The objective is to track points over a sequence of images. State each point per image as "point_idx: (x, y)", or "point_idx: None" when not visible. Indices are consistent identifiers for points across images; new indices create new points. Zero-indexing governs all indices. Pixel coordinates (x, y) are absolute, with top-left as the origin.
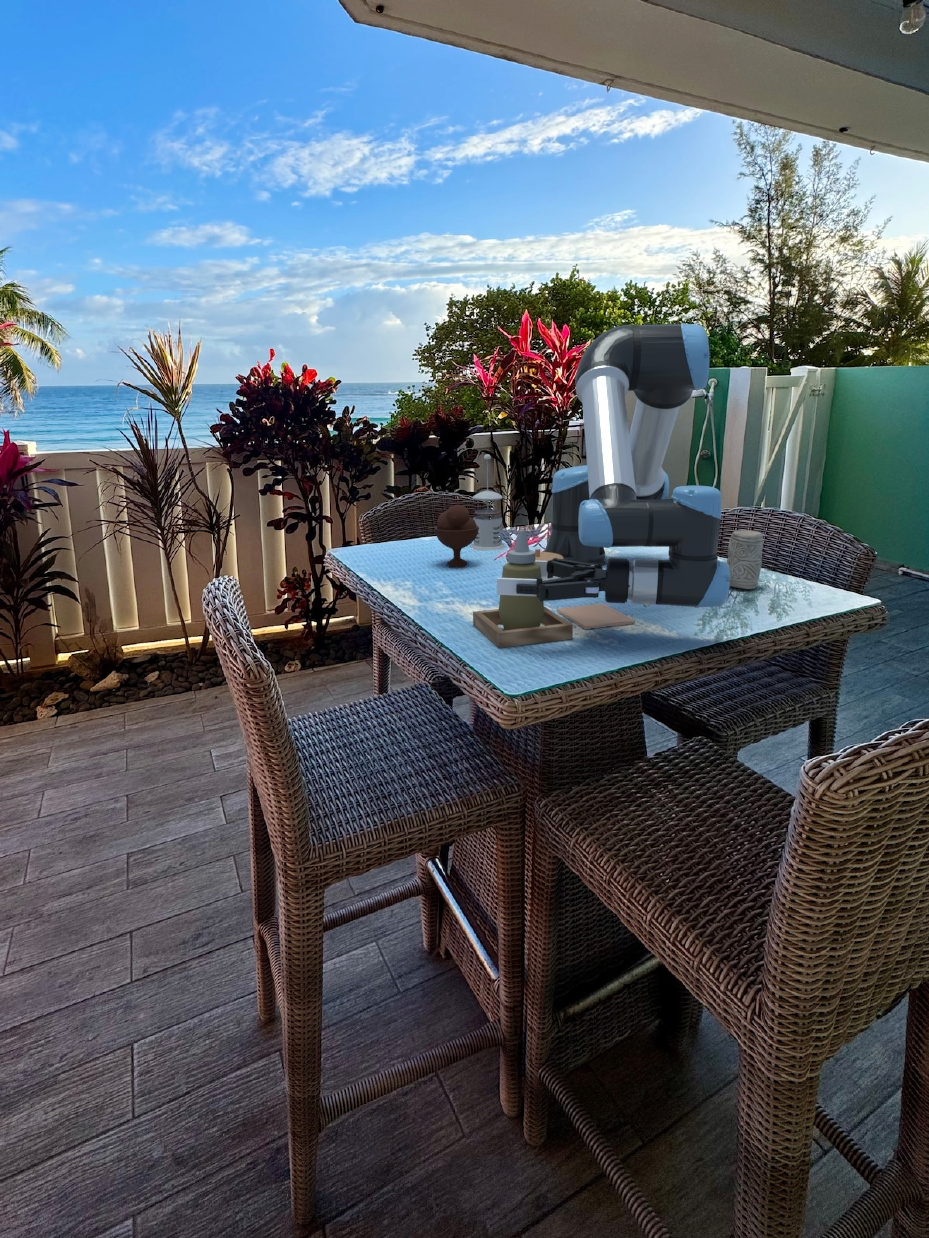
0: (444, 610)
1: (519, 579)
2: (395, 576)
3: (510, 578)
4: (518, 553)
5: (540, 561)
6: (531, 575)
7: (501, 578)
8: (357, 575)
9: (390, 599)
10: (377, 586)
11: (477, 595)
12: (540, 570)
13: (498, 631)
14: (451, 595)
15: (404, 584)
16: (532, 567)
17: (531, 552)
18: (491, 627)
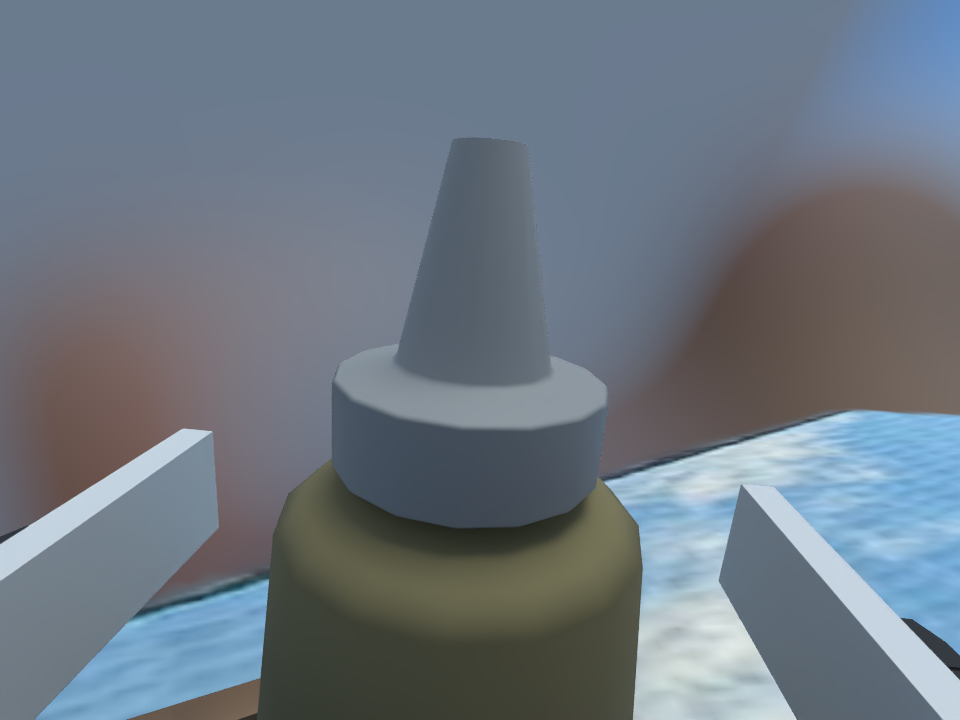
0: (667, 555)
1: (60, 509)
2: (899, 454)
3: (141, 470)
4: (382, 355)
5: (916, 679)
6: (280, 610)
7: (174, 441)
8: (830, 415)
9: (695, 459)
10: (781, 438)
11: (953, 638)
12: (426, 678)
13: (169, 716)
14: (858, 561)
15: (850, 470)
16: (325, 548)
17: (426, 399)
18: (259, 678)
